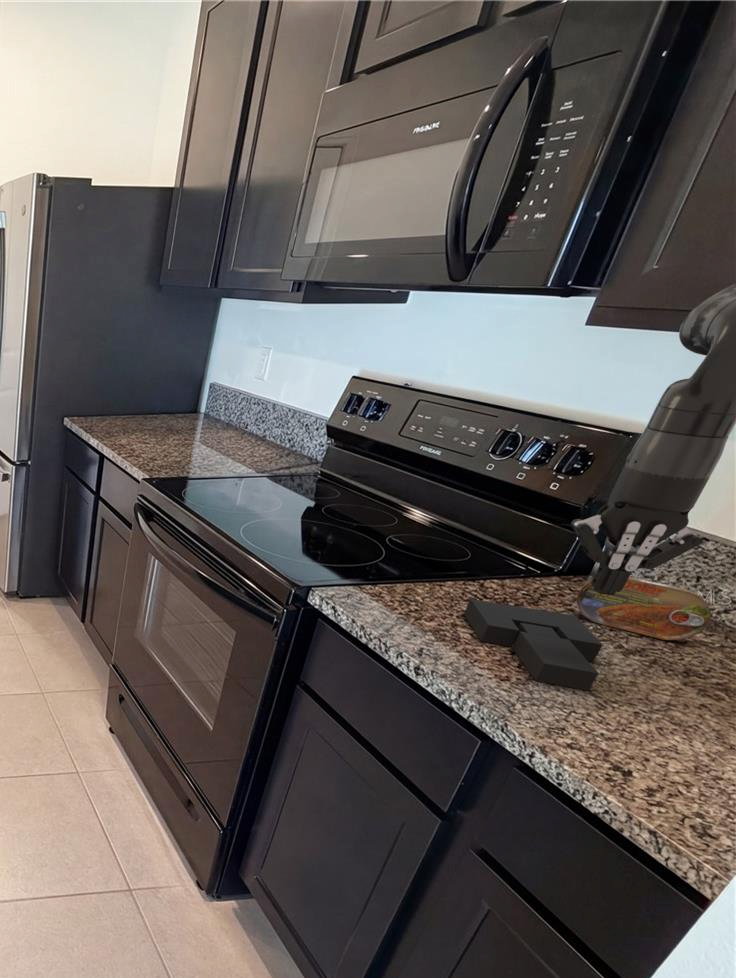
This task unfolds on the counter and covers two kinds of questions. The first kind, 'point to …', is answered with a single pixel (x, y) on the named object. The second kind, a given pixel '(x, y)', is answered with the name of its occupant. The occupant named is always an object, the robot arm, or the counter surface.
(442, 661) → the counter surface
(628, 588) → the tin
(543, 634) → the pad
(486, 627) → the notch pad
